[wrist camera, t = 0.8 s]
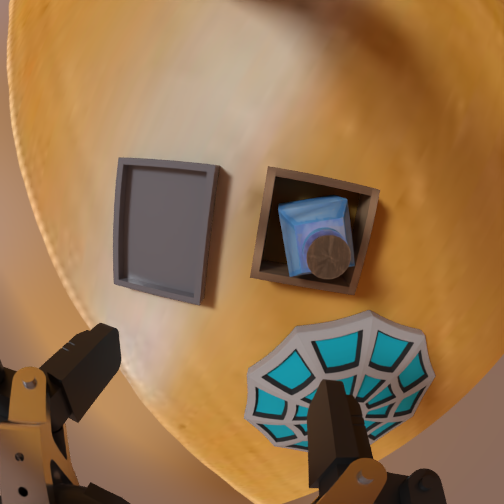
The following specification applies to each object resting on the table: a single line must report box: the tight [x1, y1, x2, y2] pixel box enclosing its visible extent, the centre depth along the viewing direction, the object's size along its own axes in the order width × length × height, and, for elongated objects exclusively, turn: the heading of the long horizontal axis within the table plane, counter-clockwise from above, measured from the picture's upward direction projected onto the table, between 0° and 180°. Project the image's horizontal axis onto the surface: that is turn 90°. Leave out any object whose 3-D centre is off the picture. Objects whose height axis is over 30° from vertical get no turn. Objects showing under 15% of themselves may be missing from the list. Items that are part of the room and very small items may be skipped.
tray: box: [113, 158, 220, 305], centre depth 31 cm, size 16×12×2 cm
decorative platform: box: [244, 310, 435, 452], centre depth 34 cm, size 31×29×5 cm
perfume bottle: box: [278, 195, 355, 279], centre depth 24 cm, size 6×6×12 cm
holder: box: [250, 166, 380, 295], centre depth 28 cm, size 11×11×4 cm
